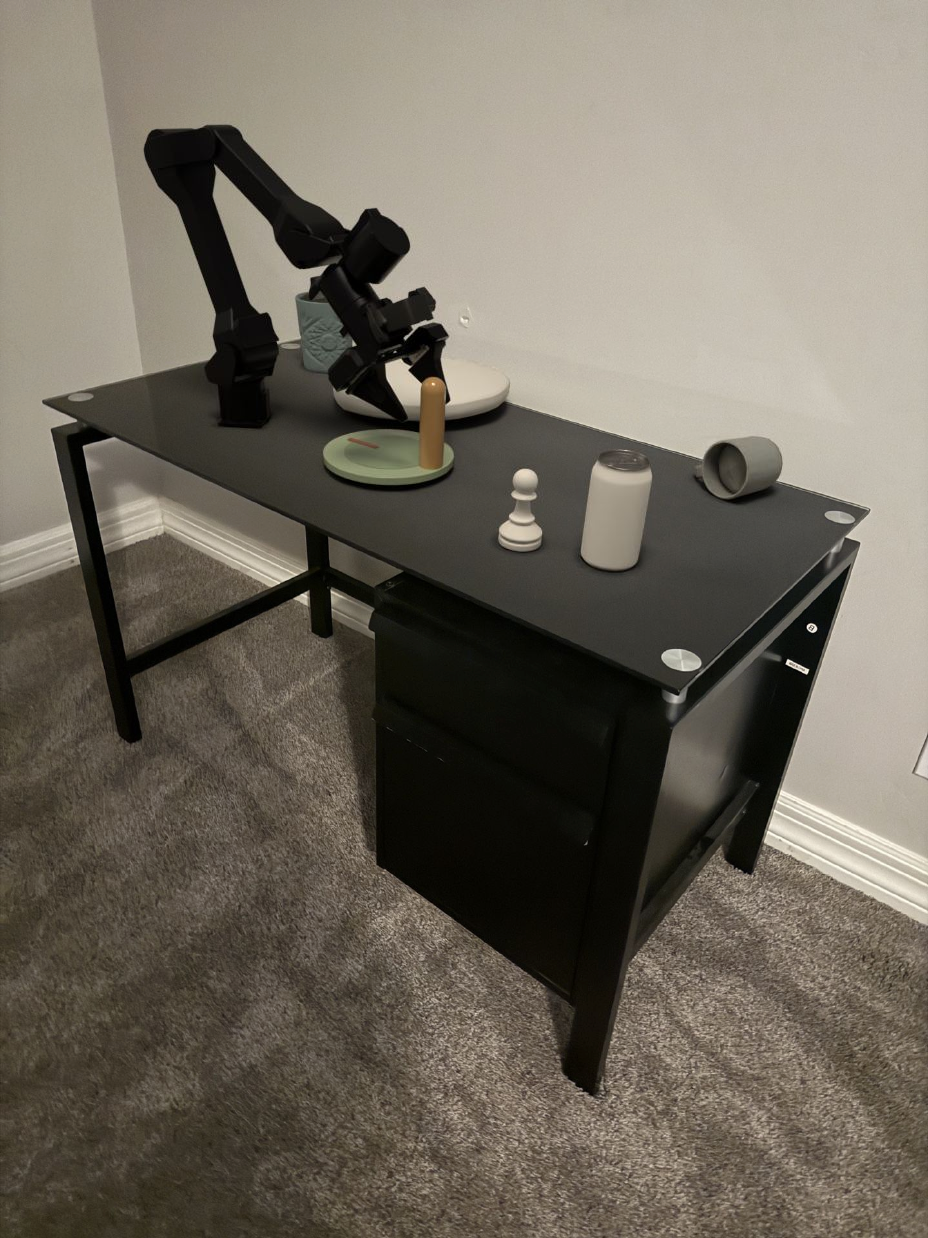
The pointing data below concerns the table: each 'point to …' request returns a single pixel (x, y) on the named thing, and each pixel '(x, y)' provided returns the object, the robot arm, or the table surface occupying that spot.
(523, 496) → the chess pawn
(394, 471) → the green disc with post
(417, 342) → the robot arm
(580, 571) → the table surface
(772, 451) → the ceramic mug
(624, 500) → the can
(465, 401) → the white round disc
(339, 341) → the teal embossed cup
